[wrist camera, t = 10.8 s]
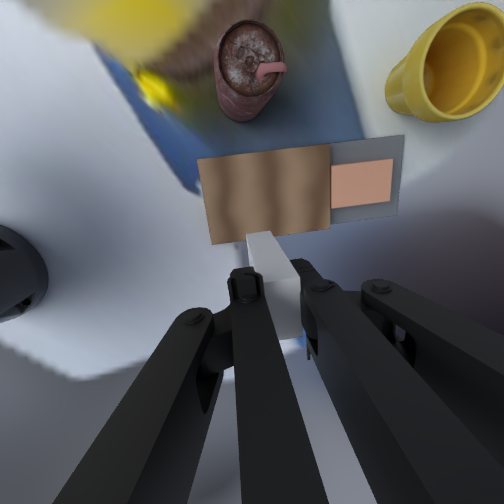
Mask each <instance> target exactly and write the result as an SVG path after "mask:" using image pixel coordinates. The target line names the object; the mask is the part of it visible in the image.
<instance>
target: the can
mask: <svg viewBox="0 0 504 504" xmlns="http://www.w3.org/2000/svg"><path fill="white" fill-rule="evenodd" d="M213 60H214V71H215V80H216V88H217V97H218V103H219V106H220V108H221V110H222V111H223V113H224V114H225V115H226V116H227V117H228V118H230V119H231V120H233V121H236V122H247V121H249V120H252V119H253V118H254V117H256V116H257V115H258V114H259V112H260V111H261V110H262V109H263V107H264V106H265V105H266V103H267V102H268V101H269V100H270V98H271V97H272V96H273V94H274V93H275V92H276V90H277V88H278V87H279V85H280V83H281V81H282V78H283V77H284V76H285V74H286V72H287V69H288V68H287V66H286V64H285V63H284V53H283V50H282V46H281V43H280V41H279V40H278V38H277V36H276V35H275V33H274V32H273V31H272V30H271V29H270V28H269V27H268V26H267V25H265V24H264V23H262V22H259V21H256V20H240V21H238V22H236V23H233V24H231V25H230V26H229V27H228V28H227V29H226V30H225V31H224V32H223V33H222V34H221V36H220V38H219V40H218V42H217V44H216V47H215V52H214V58H213Z"/></svg>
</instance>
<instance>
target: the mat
mask: <svg viewBox="0 0 504 504" xmlns="http://www.w3.org/2000/svg"><path fill="white" fill-rule="evenodd" d="M403 144H404V135H398V136H389V137H381V138H373V139H364V140H356V141H347V142H339V143H331V144H330V165H337V164H345V163H353V162H362V161H370V160H378V159H393V168H392V180H391V193H390V201H386V202H378V203H370V204H363V205H355V206H347V207H340V208H330V225H331V224H337V223H344V222H352V221H360V220H367V219H374V218H382V217H388V216H396V215H397V211H398V200H399V188H400V177H401V166H402V155H403Z"/></svg>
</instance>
